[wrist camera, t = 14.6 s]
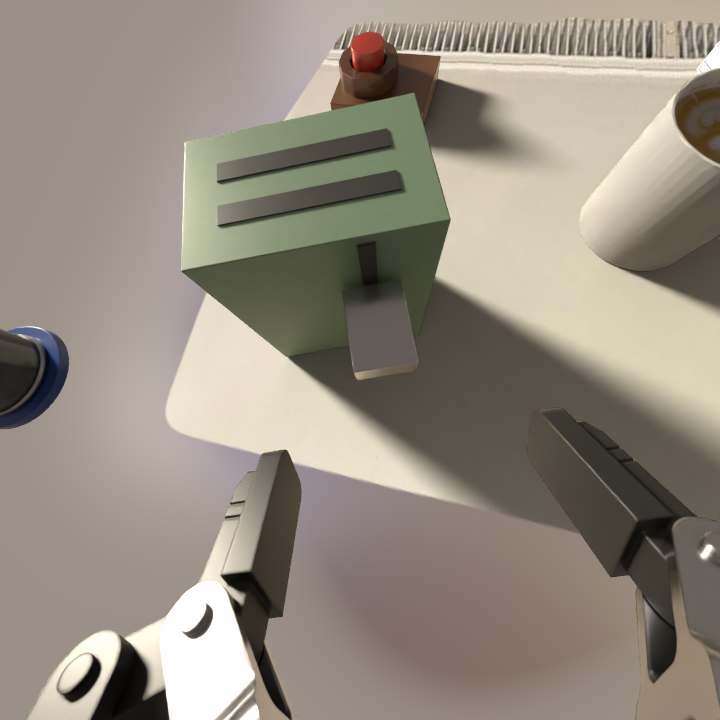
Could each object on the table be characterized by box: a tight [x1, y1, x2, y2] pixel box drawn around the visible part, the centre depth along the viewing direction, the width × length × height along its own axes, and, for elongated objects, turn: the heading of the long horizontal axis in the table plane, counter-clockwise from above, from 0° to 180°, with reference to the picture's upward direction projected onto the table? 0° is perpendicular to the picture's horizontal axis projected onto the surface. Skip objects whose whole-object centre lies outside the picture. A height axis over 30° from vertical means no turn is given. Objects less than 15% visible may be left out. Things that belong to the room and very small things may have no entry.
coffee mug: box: [579, 68, 720, 271], centre depth 24 cm, size 13×10×10 cm
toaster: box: [181, 93, 451, 357], centre depth 22 cm, size 13×9×15 cm, turn 99°
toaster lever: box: [342, 280, 418, 380], centre depth 17 cm, size 4×5×2 cm
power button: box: [351, 32, 384, 72], centre depth 32 cm, size 4×4×2 cm
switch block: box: [330, 41, 440, 124], centre depth 34 cm, size 11×9×4 cm
